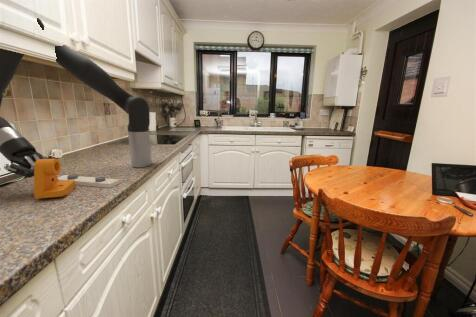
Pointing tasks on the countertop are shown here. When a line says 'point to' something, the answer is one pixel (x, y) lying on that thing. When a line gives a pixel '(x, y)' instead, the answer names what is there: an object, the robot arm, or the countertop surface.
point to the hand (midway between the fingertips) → (50, 182)
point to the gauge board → (90, 181)
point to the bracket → (50, 180)
